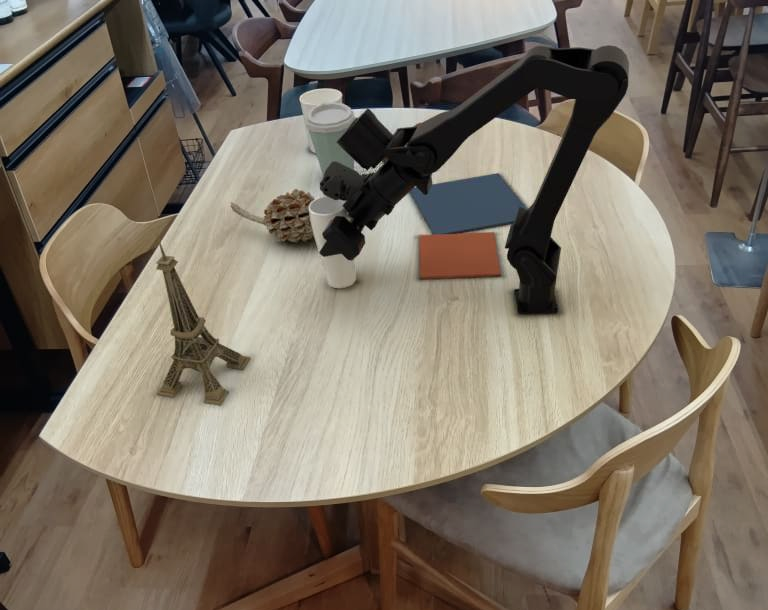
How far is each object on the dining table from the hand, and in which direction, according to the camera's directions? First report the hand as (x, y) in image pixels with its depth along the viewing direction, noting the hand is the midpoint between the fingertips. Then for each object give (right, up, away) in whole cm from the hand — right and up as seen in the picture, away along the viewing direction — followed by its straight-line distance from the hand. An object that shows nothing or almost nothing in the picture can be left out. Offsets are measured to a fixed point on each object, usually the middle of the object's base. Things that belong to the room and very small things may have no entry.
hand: (328, 243), depth 113 cm
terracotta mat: (+23, 0, +8) cm, 25 cm away
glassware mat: (+27, +13, +22) cm, 37 cm away
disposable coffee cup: (-1, +21, +34) cm, 41 cm away
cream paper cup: (-4, +33, +47) cm, 58 cm away
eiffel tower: (-18, -23, -11) cm, 31 cm away
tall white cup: (+2, -6, +5) cm, 8 cm away
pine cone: (-11, +5, +17) cm, 21 cm away
